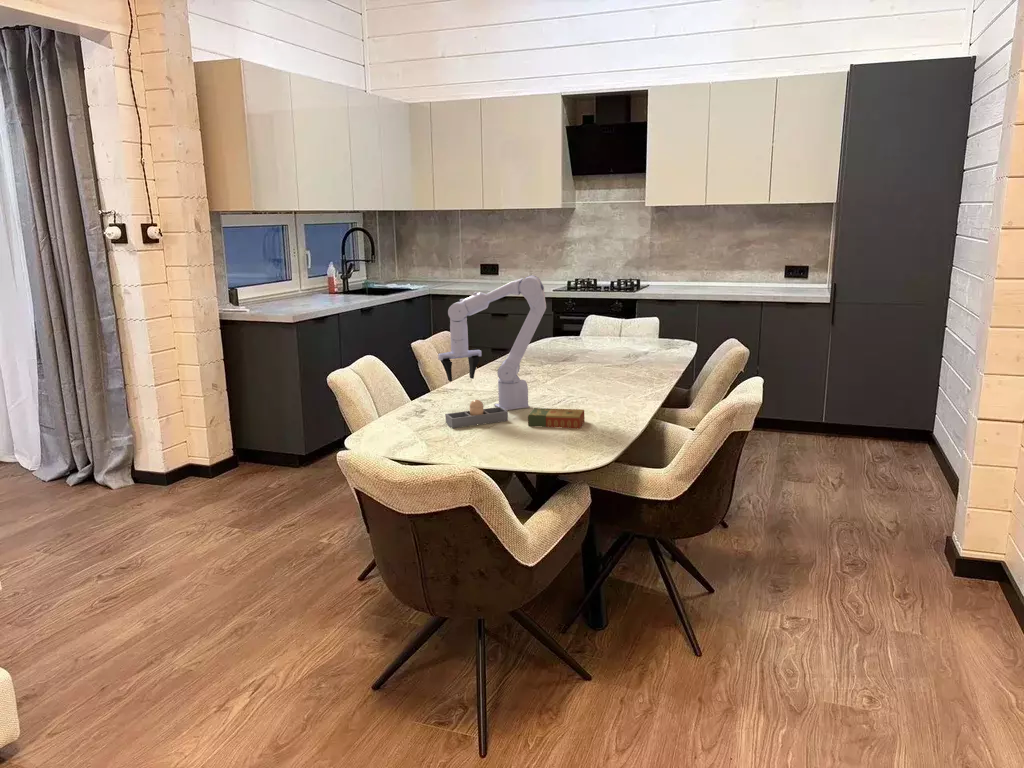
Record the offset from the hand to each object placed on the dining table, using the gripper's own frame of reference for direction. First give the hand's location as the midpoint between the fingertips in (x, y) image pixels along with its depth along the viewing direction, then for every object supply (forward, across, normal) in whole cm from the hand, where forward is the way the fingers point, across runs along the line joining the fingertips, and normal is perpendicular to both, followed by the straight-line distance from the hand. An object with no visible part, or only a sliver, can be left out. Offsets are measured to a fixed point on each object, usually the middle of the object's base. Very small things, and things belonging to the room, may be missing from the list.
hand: (460, 379), depth 248 cm
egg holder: (+9, -2, -20) cm, 22 cm away
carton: (+10, +19, -33) cm, 39 cm away
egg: (+8, -2, -20) cm, 22 cm away
